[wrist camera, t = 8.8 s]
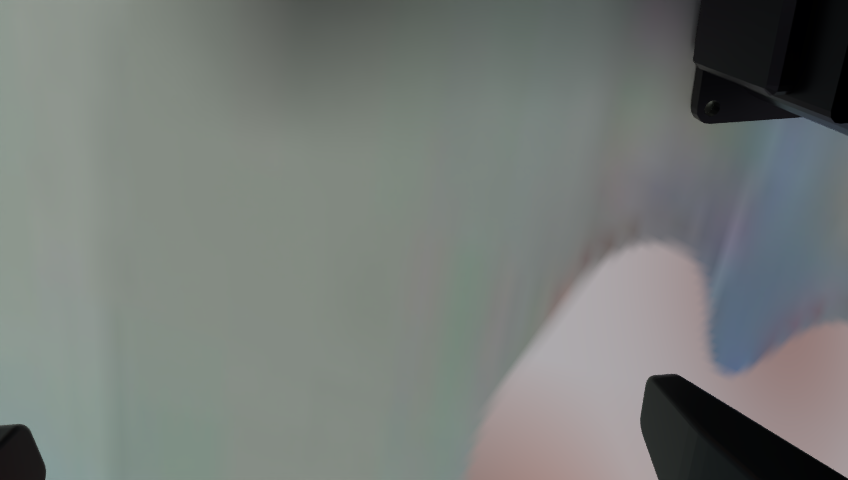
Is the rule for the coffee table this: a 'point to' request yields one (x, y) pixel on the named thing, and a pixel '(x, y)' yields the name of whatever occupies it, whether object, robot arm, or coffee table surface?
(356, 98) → the coffee table surface
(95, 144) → the coffee table surface
